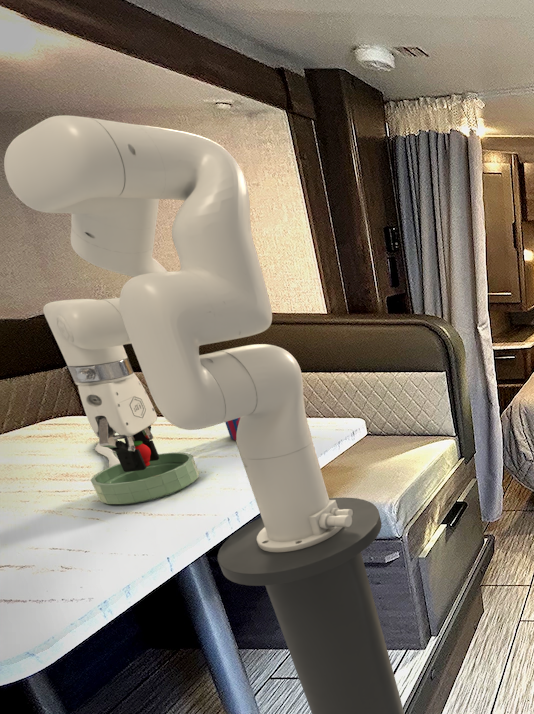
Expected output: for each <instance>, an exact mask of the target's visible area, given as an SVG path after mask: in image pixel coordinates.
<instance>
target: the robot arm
mask: <svg viewBox="0 0 534 714" xmlns="http://www.w3.org/2000/svg"><path fill="white" fill-rule="evenodd" d="M3 160H4V161H3V167H4V168H3V169H4V174H5V178H6V181H7V183H8V185H9V188H10V189H11V191H12V192H13V194H14V195H15V196H16V197H17V199H19V201H20V202H22V204H24V205H25V206H27V207H28V208H30V209H32V210H33V211H38V212H41V213H46V214H68V215H69V214H70V215H71V223H70V245H71V248H72V249H73V251H74V252H75V253H76V255H78V256H79V257H80V258H81V259H83V260H84V261H86V262H87V263H89V264H91V265H93V266H95V267H98V268H100V269H102V270H106V271H108V272H112V273H115V274H119V275H124V276H128V277H132V278H129V280H126V282H125V283H124V284H123V285H122V288H121V289H120V294H119V297H112V298H102V299H101V298H100V299H95V298H77V299H76V298H75V299H64V300H63V299H62V300H55V301H51V302H47V303H45V305H43V308H42V309H43V310H42V311H43V314H44V317H45V319H46V322H47V324H48V326H49V328H50V331H51V333H52V335H53V337H54V339H55V341H56V343H57V346H58V348H59V350H60V352H61V354H62V357H63V359H64V361H65V363H66V366H67V369H68V370H69V373H70V375H71V377H72V380H73V381H74V383H75V385H76V386H77V389H78V394H79V397H80V400H81V401H80V402H81V404H82V407H83V410H84V413H85V415H86V418H87V421H88V423H89V425H90V427H91V429H92V432H93V433H94V435H95V436H96V437H97V438H98V443H99V444H100V446H102V447H107V448H109V449H111V450H112V452H113V454H115V456H116V457H117V458H118V459H119V461H120V464H121V466H122V468H123V470H124V471H125V472H131V471H139V470H144V469H146V465H145V463H144V460H143V458H142V455H141V453H140V451H139V449H135V445H134V442H133V441H142V442H143V443H142V444H145V445H147V446H148V447H149V448H150V450H151V455H150V461H156V460H158V459H159V455H158V454H159V452H158V450H157V447H156V446H155V443H154V441H153V439H154V436H153V434H152V432H151V431H152V425H153V424H154V423H156V422H157V420H158V415H157V413H156V410H155V408H154V406H153V403H152V402H151V399H150V397H149V395H148V393H147V391H146V389H145V387H144V386H143V384H142V383H141V381H140V379H139V377H138V376H137V375H136V373H135V372H134V370H133V367H132V364H131V362H130V359H129V357H128V354H127V353H126V349H125V347H124V346H125V345H131V346H132V348H133V351H134V354H135V356H136V359H137V361H138V364H139V367H140V369H141V372H142V374H143V377H144V380H145V382H146V385H147V388H148V390H149V392H150V395H151V398H152V399H153V402H154V403H155V406H156V408H157V409H158V411H159V412H160V414H161V415H162V416H163V418H165V420H166V421H167V422H169V423H170V424H172V425H173V426H175V427H177V428H179V429H182V430H186V431H194V430H203V429H207V428H210V427H215V426H217V425H220V424H225V422H227V421H230V420H233V419H237V418H240V417H241V418H240V421H239V424H238V428H237V434H236V440H235V442H236V447H237V451H238V453H239V456H240V459H241V462H242V466H243V467H244V471H245V474H246V476H247V479H248V482H249V486H250V488H251V492H252V494H253V497H254V500H255V503H256V505H257V508H258V511H259V514H260V518H261V517H262V520H263V523H264V526H265V527H264V528H263V529H262V530H261V531H260V532H259V534H258V536H257V543H258V546H259V547H260V548H261V549H263V550H264V551H268V552H277V553H278V552H290V551H296V550H300V549H304V548H307V547H310V546H313V545H316V544H318V543H321V542H323V541H325V540H327V539H328V538H330V537H332V536H333V535H335V534H336V533H337V532H339V531H340V530H341V529H342V527H349V526H350V525H351V524H352V517H351V516H352V515H353V511H352V510H351V509H343V510H340V509H339V508H338V507H337V503H336V500H329V498H330V497H329V494H328V490H327V487H326V483H325V480H324V476H323V472H322V468H321V466H320V462H319V458H318V455H317V452H316V448H315V444H314V441H313V437H312V433H311V429H310V426H309V423H308V418H307V414H306V413H307V412H306V407H305V397H304V379H303V373H302V370H301V367H300V365H299V363H298V361H297V359H296V358H295V356H293V355H292V354H291V353H290V352H289V351H287V349H285V348H283V347H280V346H277V345H275V344H267V343H260V344H259V343H258V344H257V343H255V344H247V345H242V346H237V347H231V348H226V349H222V350H221V349H220V350H217V351H213V352H209V353H205V354H200V346H205V345H211V344H215V343H222V342H228V341H232V340H237V339H238V340H239V339H242V338H247V337H251V336H252V337H253V336H256V335H258V334H261V333H263V332H265V331H267V330H268V329H269V328H270V327H271V324H272V321H273V310H272V306H271V301H270V297H269V293H268V288H267V286H266V282H265V278H264V274H263V271H262V266H261V263H260V260H259V256H258V252H257V249H256V246H255V242H254V238H253V234H252V233H253V232H252V227H251V225H252V224H251V204H250V203H251V202H250V193H249V188H248V184H247V180H246V177H245V175H244V172H243V170H242V169H241V166H240V165H239V164H238V161H237V160H236V159H235V157H233V155H232V154H231V153H230V152H229V151H228V150H227V149H226V148H224V147H223V146H222V145H221V144H219V143H218V142H216V141H213V140H212V139H209V138H207V137H203V136H201V135H197V134H194V133H191V132H186V131H181V130H176V129H170V128H165V127H160V126H159V127H158V126H152V125H144V124H136V123H127V122H121V121H115V120H108V119H103V118H102V119H100V118H96V117H95V118H93V117H87V116H79V115H68V114H67V115H64V114H63V115H62V114H61V115H53V116H50V117H48V118H45V119H44V120H42V121H40V122H38V123H37V124H35V125H33V126H31V127H30V128H28V129H27V130H25V131H23V132H21V133H20V134H18V135H17V136H15V138H13V139H12V141H11V142H10V144H9V145H8V147H7V148H6V150H5V155H4V159H3ZM160 200H174V201H175V200H177V201H183V202H182V204H181V205H180V206H179V209H178V210H177V213H176V215H175V217H174V220H173V222H172V226H171V238H172V242H173V245H174V248H175V251H176V253H177V256H178V260H179V264H180V266H179V267H180V269H179V270H175V271H174V270H172V271H168V270H167V269H166V267H164V266H163V265H162V264H161V263H160V262H159V261H157V259H155V258H154V257H153V254H154V247H155V237H156V230H157V229H156V228H157V222H158V215H159V205H160ZM121 439H124V441H122V440H121Z"/></svg>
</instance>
